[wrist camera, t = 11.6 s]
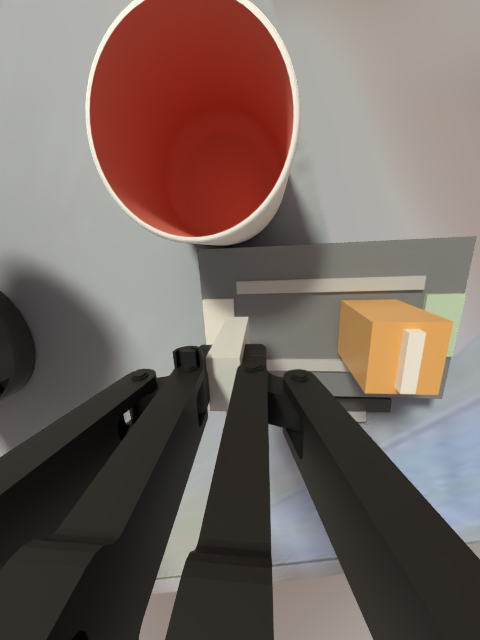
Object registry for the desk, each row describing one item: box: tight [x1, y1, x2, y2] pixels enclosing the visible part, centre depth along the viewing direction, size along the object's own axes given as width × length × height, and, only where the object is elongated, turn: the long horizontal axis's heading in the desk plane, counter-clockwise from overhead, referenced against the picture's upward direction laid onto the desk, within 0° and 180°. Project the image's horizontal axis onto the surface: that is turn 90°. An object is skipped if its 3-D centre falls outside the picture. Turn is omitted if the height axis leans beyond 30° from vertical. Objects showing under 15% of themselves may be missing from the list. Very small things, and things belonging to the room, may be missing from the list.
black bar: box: [334, 396, 392, 412], centre depth 25 cm, size 16×1×1 cm, turn 93°
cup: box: [86, 0, 300, 246], centre depth 16 cm, size 10×10×10 cm
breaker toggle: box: [337, 299, 453, 395], centre depth 16 cm, size 4×4×7 cm
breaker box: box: [198, 236, 476, 399], centre depth 21 cm, size 20×13×3 cm, turn 93°
